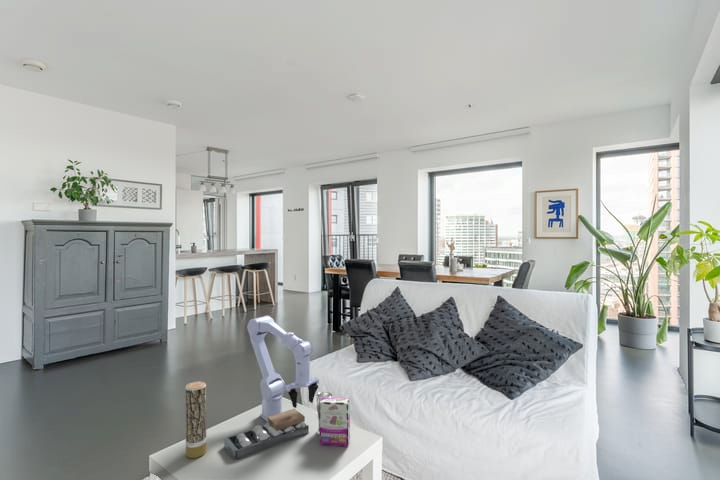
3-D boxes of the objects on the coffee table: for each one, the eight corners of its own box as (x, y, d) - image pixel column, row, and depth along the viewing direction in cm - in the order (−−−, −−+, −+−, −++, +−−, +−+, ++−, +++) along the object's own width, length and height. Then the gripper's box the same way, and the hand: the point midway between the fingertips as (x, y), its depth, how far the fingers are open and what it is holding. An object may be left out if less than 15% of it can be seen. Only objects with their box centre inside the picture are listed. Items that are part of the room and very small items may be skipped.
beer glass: (334, 428, 153) (334, 391, 153) (331, 437, 147) (331, 399, 146) (317, 427, 154) (317, 391, 154) (314, 436, 147) (314, 398, 147)
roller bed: (223, 446, 140) (223, 434, 140) (294, 422, 158) (294, 411, 158) (234, 460, 131) (234, 448, 131) (308, 433, 150) (308, 422, 150)
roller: (236, 446, 141) (233, 436, 140) (246, 440, 143) (244, 431, 143) (243, 456, 135) (241, 446, 134) (254, 449, 137) (251, 440, 136)
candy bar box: (350, 440, 144) (350, 398, 144) (348, 447, 139) (348, 403, 139) (322, 438, 146) (322, 396, 146) (319, 445, 141) (319, 402, 141)
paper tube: (198, 460, 131) (198, 389, 131) (181, 458, 132) (181, 388, 132) (210, 449, 138) (210, 382, 138) (193, 447, 139) (193, 380, 139)
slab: (267, 422, 149) (267, 417, 149) (294, 413, 157) (294, 408, 157) (277, 430, 143) (277, 425, 143) (304, 421, 150) (304, 416, 150)
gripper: (291, 378, 147) (291, 412, 147) (322, 370, 155) (322, 403, 155) (283, 373, 152) (283, 406, 152) (314, 366, 161) (314, 397, 161)
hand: (302, 404), depth 154 cm, fingers open, 7 cm apart
